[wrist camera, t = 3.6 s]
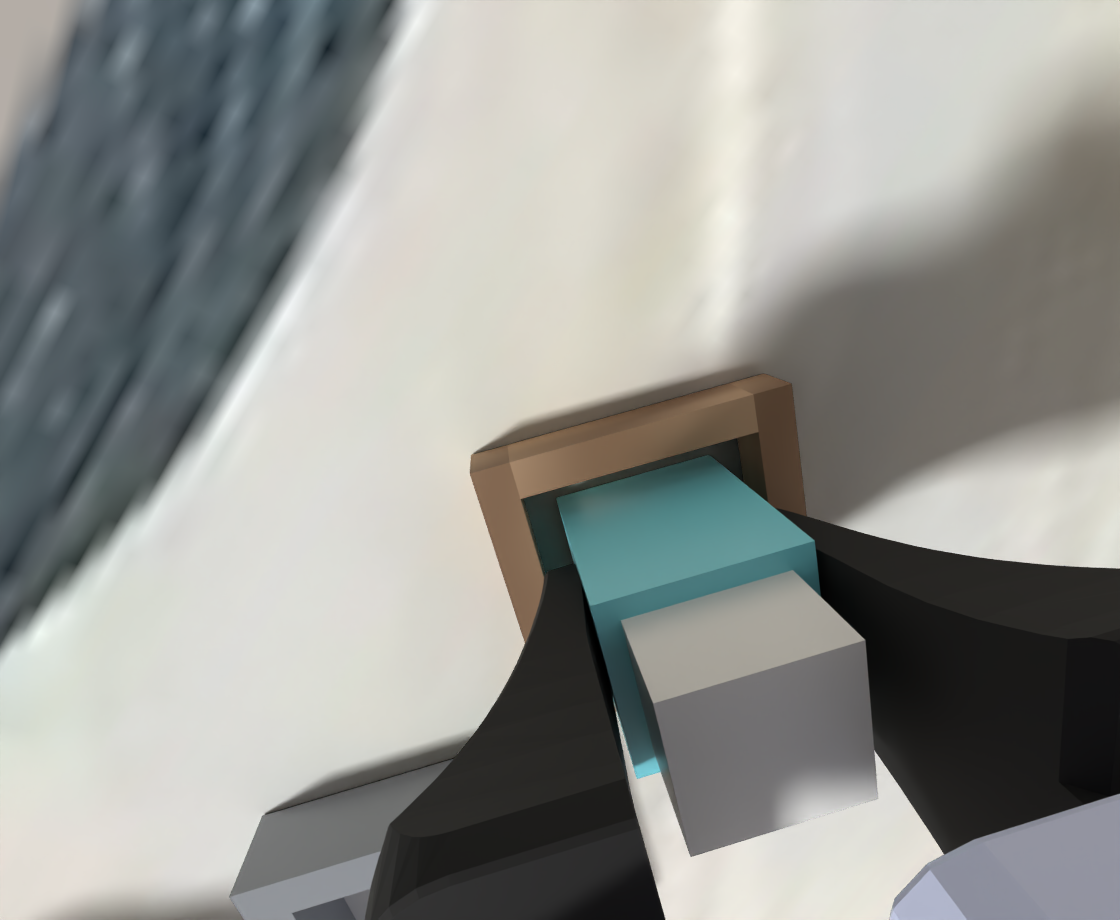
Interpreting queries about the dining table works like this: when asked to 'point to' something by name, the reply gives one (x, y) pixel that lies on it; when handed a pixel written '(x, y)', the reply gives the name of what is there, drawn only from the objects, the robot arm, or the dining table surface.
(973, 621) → the robot arm
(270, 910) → the port
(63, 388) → the dining table surface
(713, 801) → the plug
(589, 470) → the wooden square frame
